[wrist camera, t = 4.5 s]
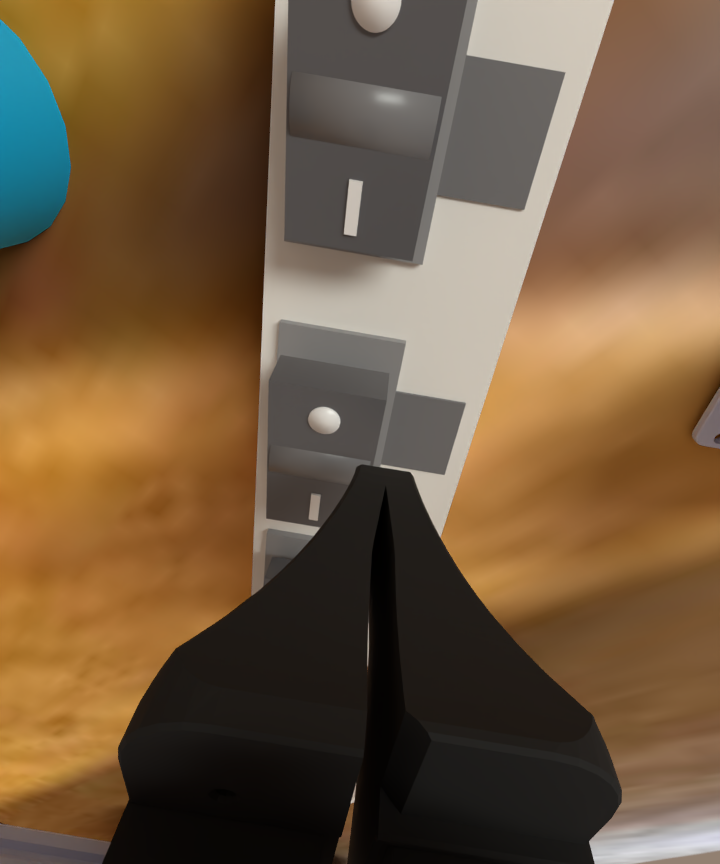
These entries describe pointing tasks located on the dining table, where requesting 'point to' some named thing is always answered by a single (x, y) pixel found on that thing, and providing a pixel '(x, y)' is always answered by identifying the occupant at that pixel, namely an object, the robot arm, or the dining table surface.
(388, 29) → the dark grey block
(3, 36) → the mug
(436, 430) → the power strip
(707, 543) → the dining table surface
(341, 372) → the rocker dark gray
